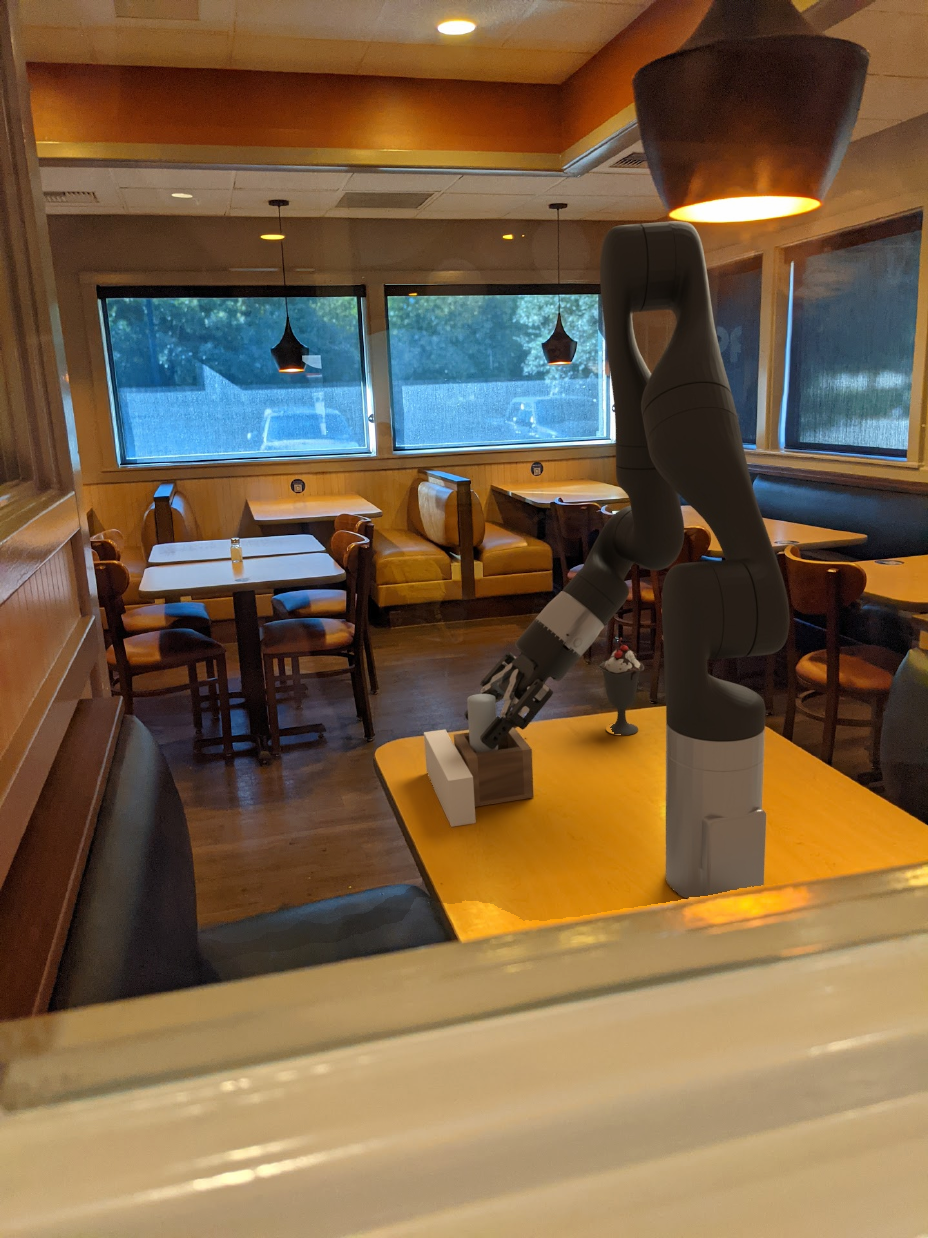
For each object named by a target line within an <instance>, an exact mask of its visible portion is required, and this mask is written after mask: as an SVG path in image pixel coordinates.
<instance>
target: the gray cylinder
mask: <svg viewBox="0 0 928 1238" xmlns="http://www.w3.org/2000/svg"><path fill="white" fill-rule="evenodd" d="M466 704H467V706H466V707H467V710H468V720H467V721H468V722H467V723H468V732H469V740H470V746H471V748H472V749H473V751H474V752H475V753H481V752H488V751H494V750H498V745H497V746H496V747H495V748H494V749H490V748H489V747H487V746H486V745H485V744H483V743H482V741H481V740H480V736H481V735H482V734H483V733H484V731H485V730H486V729H487V728H488V727H489V726H490V724H491V723H492V722H493V721H494V720H495V719H496V717H497V702H496V698H495V696H493V695H490V694H482V693H477V694H473V695H470V696H468V697H467V700H466Z"/></svg>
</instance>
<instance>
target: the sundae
mask: <svg viewBox="0 0 928 1238" xmlns="http://www.w3.org/2000/svg"><path fill="white" fill-rule="evenodd" d="M622 640H623V638H622V637H619V639H618V643H617V647H616V649H615V650H614V651H613V652H612V653H611V655H610V657H609V658H608V659H607V660H605V661H603V662H601V663H600V664H599V666H598V669H600V670H601V671H602V674H603V678H604V685H605V691H606V692H605V693H606V695H607V701H608V702H609V703H610V704H611V705H612V706H613V707H615V708H616V709H617V718H616V721H615V722H614V723H615V724H613V723H612V724H613V725H612V726H611V727H610V728H612V729H611V730H612V732H614V734H621V735H624V736H623V737H626V736H625V735H628V736H632V735H634V734H636V732H637V733H638V731H639V728H638V726H636V725H635V724H633V723H630V724H629V722H628V721H627V717H626V710H627V708H629V707H630V706H632V704H633V703H634V702H635V699H636V696H637V689H638V681H639V675H640V673H642V672H643V671H644V670H645V666H644V663H643V662H640V661H639V660H637V653H636V652H634V651H632V650H631V649H629V647H628V646H627V645H625V644H623V643H622ZM620 644H621V646H620V647H619V645H620Z"/></svg>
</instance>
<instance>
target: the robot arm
mask: <svg viewBox="0 0 928 1238" xmlns="http://www.w3.org/2000/svg"><path fill="white" fill-rule="evenodd" d="M604 236H605V237H604V238H603V239H604V240H603V242H602V246H601V252H600V253H601V254H600V259H599V262H600V263H599V279H600V295H601V305H602V306H601V307H602V316H603V323H604V330H605V333H604V334H605V340H606V341H605V342H606V343H605V344H606V350H607V359H608V367H609V373H610V382H611V389H612V396H613V407H614V422H615V425H614V426H615V476H616V482H617V485H618V487H620V489H621V490H622V491H623V492H624V493H625V494H626V495H627V497H628V499H629V502H630V503H629V505H628V506H625V507H623V508H621V509H620V510H618V511H616V513H614V514H613V515H612V516H611V517H610V518H609V519H608V520H607V522H605V524H604V526H603V528H602V529H601V530H600V532H599V534H598V536H597V538H596V539H595V542H594V543H593V545H592V547H591V548H590V550H589V553H588V555H587V558H586V560H585V561H584V564H583V566H582V567H581V568H580V569H579V570H578V572H576V573H575V575H574V576H573V577H572V578H571V579H570V581H569V582H568V583H567V584H566V585H565V586H564V587H563V589H562V591H560V592H559V593H558V594H557V595H556V596H555V597H554V598H552V599H551V601H549V602H548V603H547V604H546V606H544V608H543V609H542V610H541V612H540V613H539V614H538V615H537V616H536V617H535V618H534V620H533V621H532V622H531V623H530V625H528V626H527V628H526V629H525V630H524V631H523V632H522V634H521V635H520V636H519V637H518V639H517V640H516V641H515V643H514V644H515V648H516V649H517V650H518V651H520V652H521V653H520V654H519V655H518V656H515V655H514V654H513V653H512V652H510V651H507V652H506V653H505V654H504V655H503V656H502V658H500V660H499V661H498V662H497V663H496V664H495V665H494V667H492V669H490V671H489V672H488V673H487V674H486V675H485V676H484V678H483V679H482V680H481V681H480V683H479V685H480V687H481V689H480V693H479V694H490V695H493V696H495V698H496V703H498V702H499V701H502V700H503V702H504V704H503V706H502V708H501V711H500V713H499V715H496V719H495V720H494V721H493V722H492V723H491V724H490V726H489V727H488V728H487V729H486V730H485V731H484V733H483V734H482V735H481V736H480V740H481V741H482V743H483V744H485V745H486V746H487V747H489V748H490V749H494V748H495V747H496V746H497V745H498V744H499V743H500V742H501V740H502V739H503V738H504V737H505V736H506V735H507V733H508V732H509V731H510V730H511V729H512V728H515V729H516V728H519V729H521V730H525V729H526V728H527V727H528V726H529V725H530V723H531V722H532V720H533V719H534V718H535V717H536V715H537V714H538V713H539V712H540V711H541V709H542V708H543V707H544V706H545V705H546V703H547V702H548V701H549V700H550V698H552V696H553V695H554V691H553V690H552V689H551V688H550V687H549V686H548V685H547V684H546V683H547V681H548V679H549V678H551V679H553V680H554V681H555V682H560V681H562V679H563V678H564V677H565V676H566V675H567V674H568V672H569V671H570V670H571V669H572V668H573V667H574V665H575V664H577V662H578V661H579V660H580V659H581V657H582V656H583V655H584V654H585V652H586V651H587V650H589V648H590V647H591V646H592V645H593V643H594V642H595V641H596V639H597V637H598V636H599V634H600V633H601V632H602V630H603V629H604V628H605V626H606V625H607V623H609V622H610V621H611V619H612V618H613V617H614V616H615V614H616V613H618V611H619V610H620V609H621V607H622V606H623V605H624V604H625V602H626V600H627V599H628V597H629V595H630V589H629V586H628V584H627V583H626V581H625V579H626V577H627V575H628V574H629V571H630V569H631V568H632V566H633V565H634V564H636V565H638V566H639V567H642V568H643V569H646V570H649V571H660V570H661V571H662V570H665V569H667V568H668V567H670V566H671V565H672V564H674V562H675V561H677V559H678V557H679V555H680V553H681V551H682V548H683V546H684V545H683V544H684V539H685V523H684V517H683V516H684V515H683V511H682V505H681V501H680V497H681V498H682V499H683V500H684V501H685V502H686V503H687V504H688V505H689V506H690V507H692V509H693V510H694V511H696V513H697V514H698V515H699V516H700V517H701V518H702V519H703V521H705V523H706V524H707V525H708V527H709V529H711V532H713V534H714V537H715V538H716V540H717V541H718V545H719V546H720V549H721V552H722V554H723V557H724V558H725V559H724V560H723V559H722V560H721V559H720V560H708V561H706V560H705V561H694V562H693V561H692V562H682V563H677V564H675V565H673V566H672V567H671V568H670V569H669V570H668V571H667V573H666V574H665V578H664V580H663V585H662V588H661V589H662V590H661V622H662V623H661V624H662V636H663V637H662V639H663V655H664V656H663V660H664V693H665V710H666V711H665V715H666V717H665V718H666V719H665V720H666V721H665V722H666V724H665V729H666V730H665V880H666V879H667V881H666V883H667V882H668V883H667V885H668V884H669V885H670V886H671V887H672V889H674V890H675V891H676V892H677V893H678V894H677V893H676V892H675V891H674V892H675V893H676V894H677V895H679V896H680V897H682V898H684V899H686V898H689V897H700V896H708V895H713V894H718V893H722V892H727V891H730V890H737V889H739V888H747V887H751V886H752V887H754V886H761V885H764V886H765V863H766V862H765V861H766V860H765V858H766V839H767V838H766V837H767V836H766V835H767V833H766V831H767V829H766V828H767V812H766V811H765V810H764V809H763V785H764V762H765V761H764V758H765V736H766V735H765V733H766V705H765V704H766V703H765V700H764V699H763V697H762V696H761V695H760V694H759V693H758V692H756V691H754V690H753V689H750V688H749V687H746V686H744V685H741V684H737V683H734V682H731V681H727V680H723V679H720V678H717V677H715V676H713V675H711V674H710V673H708V672H709V671H708V660H720V659H721V660H723V659H736V658H747V657H749V658H750V657H758V656H768V655H773V654H775V653H777V652H779V651H780V650H781V649H782V648H783V647H784V646H785V644H786V642H787V639H788V635H789V630H790V624H791V623H790V616H791V615H790V607H789V606H790V605H789V600H788V594H787V590H786V585H785V581H784V578H783V574H782V570H781V568H780V565H779V561H778V560H777V556H776V553H775V550H774V548H773V545H772V541H771V539H770V535H769V533H768V530H767V528H766V525H765V522H764V519H763V516H762V513H761V510H760V507H759V505H758V501H757V498H756V494H755V490H754V488H753V482H752V480H751V474H750V471H749V467H748V466H749V465H748V462H747V457H746V454H745V452H746V451H745V448H744V443H743V437H742V433H741V429H740V423H739V418H738V414H737V410H736V406H735V402H734V397H733V393H732V390H731V386H730V383H729V379H728V376H727V373H726V370H725V369H726V368H725V366H724V360H723V357H722V354H721V349H720V345H719V341H718V340H719V339H718V336H717V331H716V327H715V321H714V313H713V307H712V301H711V300H712V299H711V292H710V287H709V286H710V285H709V278H708V271H707V264H706V259H705V258H706V257H705V253H704V248H703V244H702V239H701V237H700V235H699V232H698V231H697V229H696V228H695V226H694V225H693V224H692V223H689V222H686V221H675V220H674V221H673V220H672V221H661V222H649V223H634V224H633V223H632V224H624V225H622V224H621V225H617V226H614V227H612V228H610V229H609V230H608V231H607V232H606V235H604ZM665 310H667V311H672V312H673V314H674V317H675V319H676V321H675V322H676V325H675V328H674V330H673V333H672V335H671V337H670V340H669V342H668V344H667V346H666V348H665V350H664V351H663V353H662V355H661V356H660V359H658V362H657V364H656V365H655V367H654V369H653V370H652V372H651V370H650V369H649V368H648V366H647V364H646V362H645V360H644V358H643V357H642V355H641V352H640V349H639V348H638V343H637V340H636V338H635V337H636V336H635V331H634V324H633V314H634V313H638V312H639V313H642V312H643V313H644V312H656V311H657V312H658V311H665ZM679 496H680V497H679ZM524 714H526V715H524ZM463 716H464V718H465V719H466V720H467V721H468V709H466V710H465V711H464V714H463ZM669 885H668V886H669ZM670 886H669V887H670ZM671 887H670V888H671ZM672 889H671V890H672Z"/></svg>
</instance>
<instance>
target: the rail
mask: <svg viewBox="0 0 928 1238" xmlns="http://www.w3.org/2000/svg"><path fill="white" fill-rule="evenodd" d="M423 741H424V752H425V753H424V755H425V768H426V769H425V770H426V773H427V772H428V775H429V777H430V779H431V781H430V783H431V782H432V784H431V786H432V785H433V786H432V788H433V787H434V788H433V790H434V792H435V795H436V796H437V799H438V800H439V803H440V805H441V808H442V809H443V812H444V814H445V816H446V819H447V820H448V823H449V826H450V827H451V828H453V827H458V826H465V825H471V824H472V825H473V824H476V823H477V821H476V809H475V808H476V807H475V803H474V785H473V776H472V774H471V773H470V771H469V769H468V767H467V766H466V764H465V762H464V761H463V759H462V757H461V755H460V754H459V752H458V750H457V749H456V747H455V745H454V741H453V740H452V738H451V737H450V735H449V733H448V732H447V729H437V730H431V731H424V732H423ZM428 775H427V776H428ZM429 777H428V778H429ZM430 779H429V780H430Z"/></svg>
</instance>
